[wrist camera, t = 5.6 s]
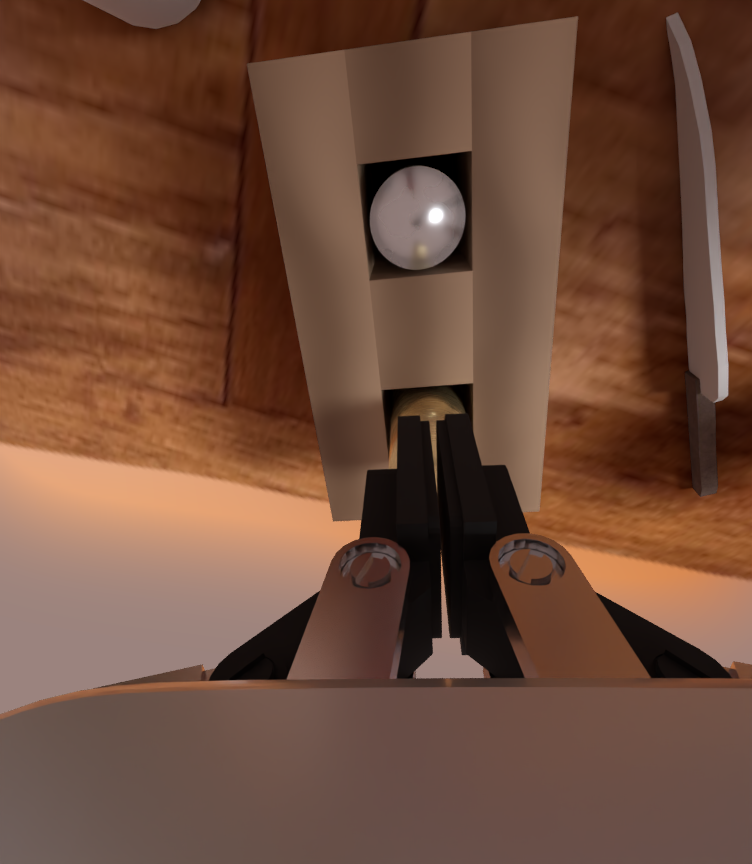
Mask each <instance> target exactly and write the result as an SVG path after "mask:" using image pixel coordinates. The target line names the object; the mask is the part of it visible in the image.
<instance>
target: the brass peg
mask: <svg viewBox="0 0 752 864" xmlns="http://www.w3.org/2000/svg"><path fill="white" fill-rule="evenodd" d="M460 413H465V409H464V404H463V400H462V396H461V392H460V388H459V385H458V384H455V385H441V386H428V387H414V388H401V389H394V390H393V395H392V413H391V432H390V452H389V469H397V427H398V416H416V415H420V421H429V423H430V433H431V442H432V451H433V460H434V469H435V479H436V488H437V452H436V420H444V418H445V414H460Z"/></svg>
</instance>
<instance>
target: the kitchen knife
mask: <svg viewBox="0 0 752 864" xmlns="http://www.w3.org/2000/svg"><path fill="white" fill-rule="evenodd" d="M666 25H667V34H668V39H669V45H670V51H671V58H672V65H673V72H674V80H675V89H676V109H677V129H678V149H679V169H680V189H681V209H682V238H683V274H684V296H685V307H686V324H687V347H688V362H689V371H687V372H685V384H686V398H687V412H688V427H689V441H690V455H691V469H692V484H693V489H694V490H695V491H696V492H697V493H698V495H699V496H700V497H701V496H706V495H710V494H714V493H716V492H717V488H718V477H717V459H716V415H715V402H718V401H721V400H723V399H725V398H726V397H727V396H728V355H727V341H726V326H725V305H724V290H723V278H722V265H721V251H720V234H719V218H718V199H717V180H716V164H715V155H714V147H713V138H712V129H711V124H710V119H709V114H708V109H707V104H706V99H705V94H704V89H703V84H702V79H701V75H700V71H699V67H698V64H697V60H696V56H695V53H694V49H693V45H692V42H691V39H690V37H689V35H688V33H687V31H686V29H685V26H684V24H683V22H682V20H681V18H680V16H679V14H678V12H677V13H675V14H673V15H671V16H668V17H666Z"/></svg>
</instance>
